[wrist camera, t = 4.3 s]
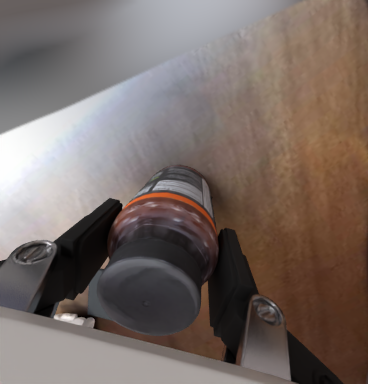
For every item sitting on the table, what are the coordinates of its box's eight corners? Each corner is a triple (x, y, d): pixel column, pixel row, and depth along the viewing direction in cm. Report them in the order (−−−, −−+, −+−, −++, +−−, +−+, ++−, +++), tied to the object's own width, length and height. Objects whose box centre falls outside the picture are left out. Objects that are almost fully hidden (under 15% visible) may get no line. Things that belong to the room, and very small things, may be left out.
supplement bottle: (190, 229, 18) (178, 370, 8) (140, 202, 18) (51, 316, 7) (222, 183, 16) (264, 290, 6) (166, 151, 16) (94, 204, 5)
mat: (88, 312, 25) (87, 314, 25) (90, 266, 21) (89, 267, 21) (149, 328, 25) (148, 329, 25) (160, 284, 22) (160, 285, 21)
